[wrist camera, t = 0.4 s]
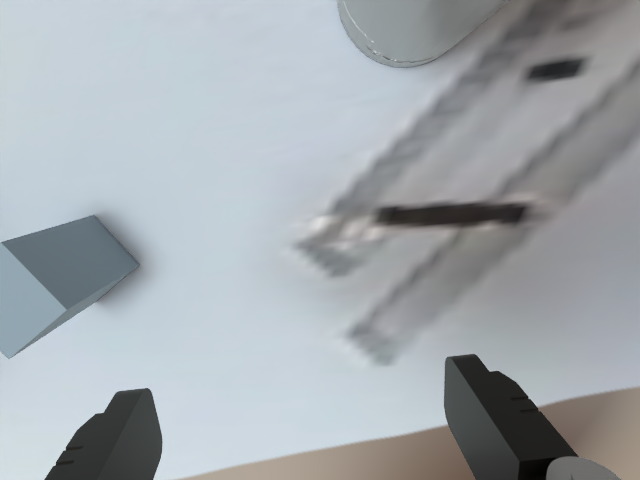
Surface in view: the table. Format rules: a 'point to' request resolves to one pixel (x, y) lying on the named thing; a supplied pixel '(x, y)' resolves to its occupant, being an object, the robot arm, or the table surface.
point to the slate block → (55, 278)
